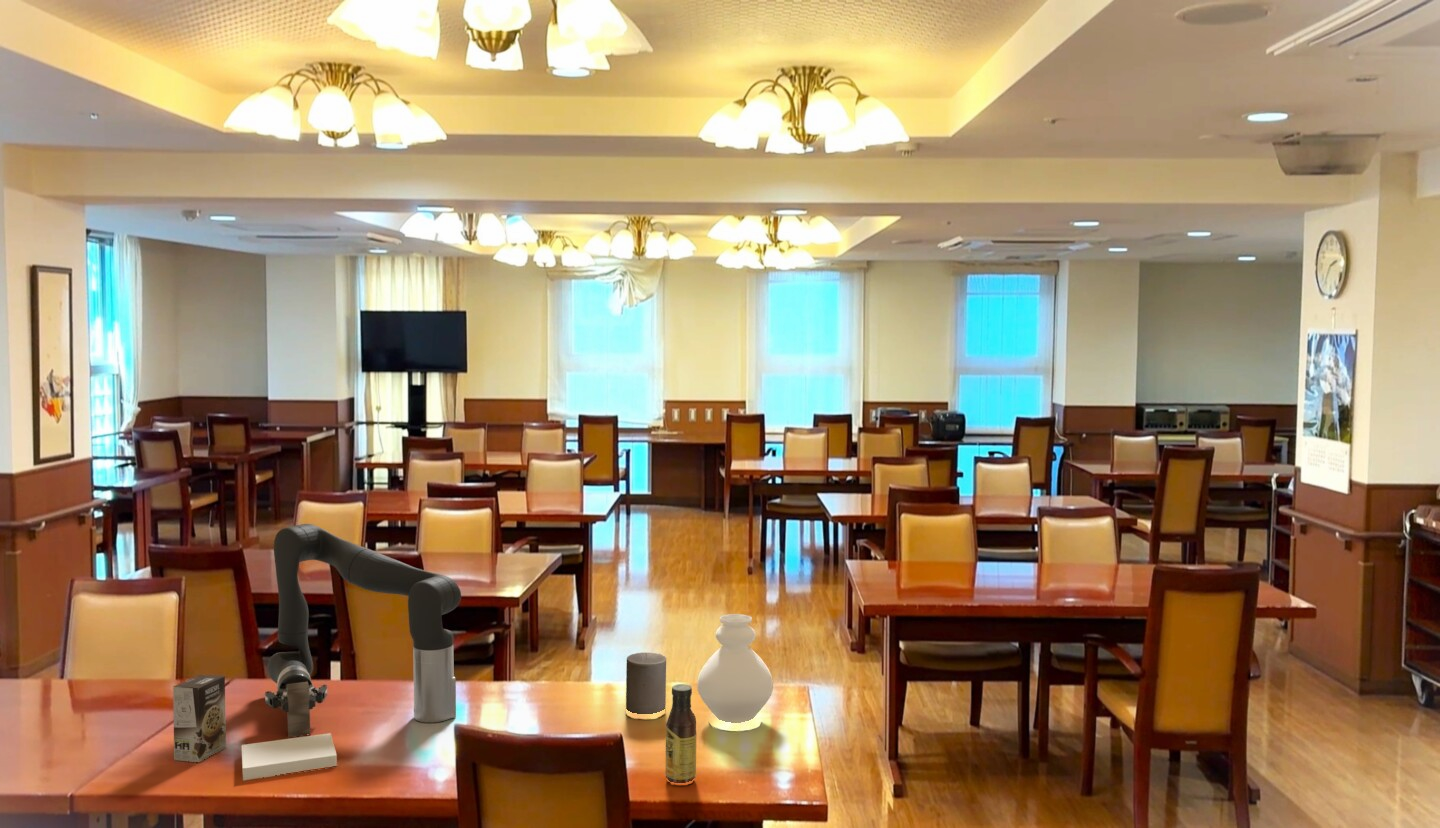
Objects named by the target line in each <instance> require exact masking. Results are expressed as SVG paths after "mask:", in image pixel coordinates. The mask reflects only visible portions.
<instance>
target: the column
mask: <svg viewBox="0 0 1440 828" xmlns="http://www.w3.org/2000/svg"><path fill="white" fill-rule="evenodd" d="M287 700H288V706H289V712H286V714H287V717H286V719H287V736H288V738H289V737H292V738H295V737H294V736H299V737H302V736H301V735H307V734H310V735H311V712H310V711H311V709H309V684H308V682H300V683H292V684H287ZM307 736H308V735H307Z"/></svg>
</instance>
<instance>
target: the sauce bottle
mask: <svg viewBox="0 0 1440 828" xmlns="http://www.w3.org/2000/svg"><path fill="white" fill-rule="evenodd" d="M692 691H693V688H692V686H691V685H689V684H687V683H678V684H675V685H673V686H672V687H671V695H672V704H671V709H670V712H669V714H668V717H667V720H666V723H665V779H666V778H667V779H668V780H669V781H670V782H674V783H686V782H689V781H692V780H693V779H694V778H695V779H696V775H697V736H698V735H697V734H698V733H697V718H696V715H695V713H694V712H693V710H692V703H691V702H692V701H691V700H692V693H693V692H692Z"/></svg>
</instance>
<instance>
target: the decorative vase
mask: <svg viewBox="0 0 1440 828" xmlns="http://www.w3.org/2000/svg"><path fill="white" fill-rule="evenodd" d="M752 619H753V617H752V616H751V615H747V614H741V613H729V614H724V615H723V614H722V615H721V616H719V622H720V623H721V624H722V625H720V626H719V627H718V628H717V630H716V632H715V638H716V640H717V642H718V643H719V644H720V645H721V646H720V647H719V648H718V649H717V650H716V651H715V652H714V653H713V654H712V655H711V656H710V657H709V658H708V659H707V661H706V662H705V663H704V665H703V667H702V668H701V670H700V672H699V674H698V677H697V678H698V679H697V684H696V685H697V692H698V695H699V696H700V698H701V700H702V701H703V703H704V704H705V705H706V707H707V708H708V709H709V710H710V711H711V713H712V715H715V716H716V717H717V718H718V719H719V720H722V721H725V722H731V723H741V722H745V721H749V720H751V719H753V718H754V717H755V716H756V715H758V713H759V712H760V711H761V710H762V709H763V707H765V705H766V704H767V702H768V701H769V699H770V698H771V696H772V694H773V691H774V680H773V676H772V673H771V671H770V670H769V668H768V666H767V665H766V663H765V662H764V660H763V659H762V658H761V657H760V656H759V655H758V654H757V653H756V652H755V651H754V649H752V648H751V647H750V645H752V643H753V642H755V639H756V637H757V634H756V631H755V629H754V628H753V627H752V626H750V624H751V623H752V622H753V620H752Z"/></svg>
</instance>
